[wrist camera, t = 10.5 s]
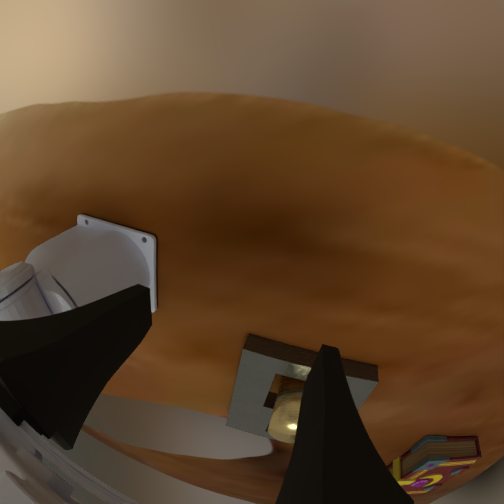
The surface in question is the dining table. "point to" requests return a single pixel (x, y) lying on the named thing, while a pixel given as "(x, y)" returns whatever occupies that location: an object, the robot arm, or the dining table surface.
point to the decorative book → (434, 462)
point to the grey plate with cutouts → (288, 364)
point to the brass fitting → (286, 410)
